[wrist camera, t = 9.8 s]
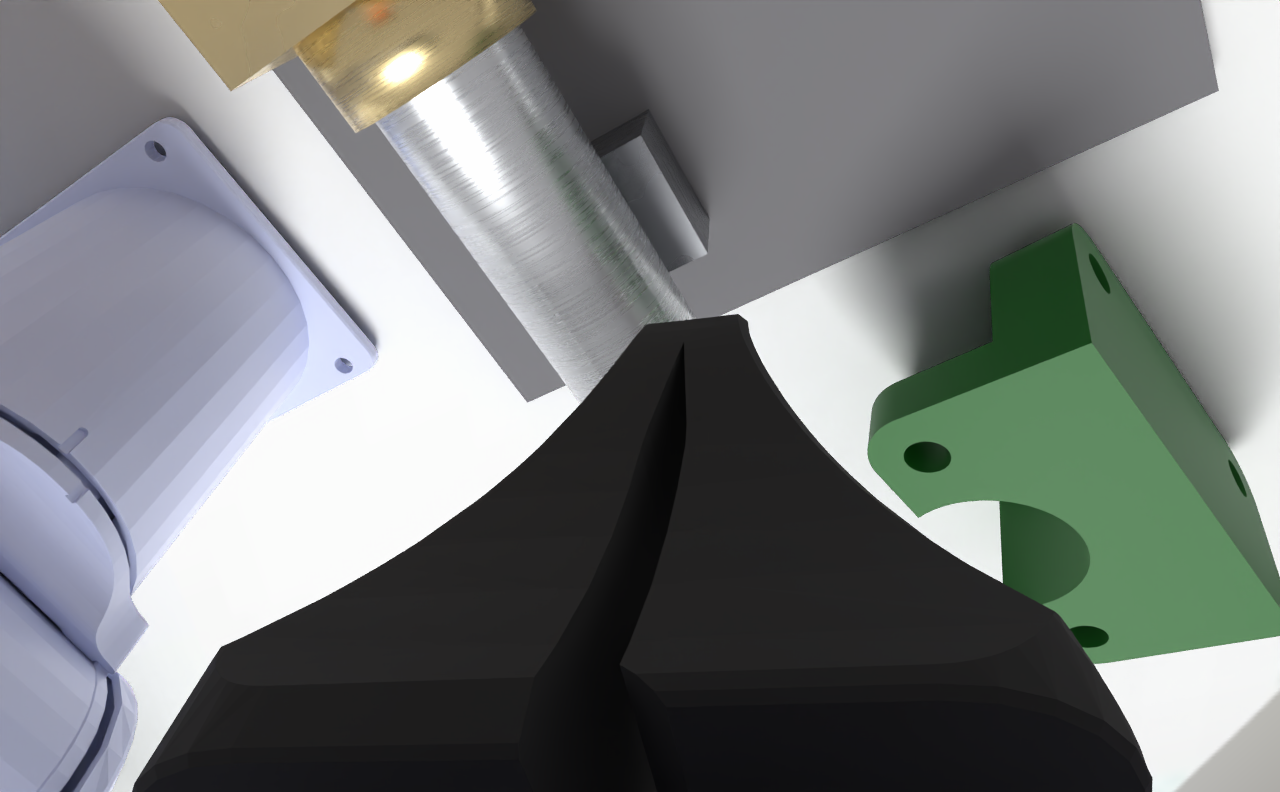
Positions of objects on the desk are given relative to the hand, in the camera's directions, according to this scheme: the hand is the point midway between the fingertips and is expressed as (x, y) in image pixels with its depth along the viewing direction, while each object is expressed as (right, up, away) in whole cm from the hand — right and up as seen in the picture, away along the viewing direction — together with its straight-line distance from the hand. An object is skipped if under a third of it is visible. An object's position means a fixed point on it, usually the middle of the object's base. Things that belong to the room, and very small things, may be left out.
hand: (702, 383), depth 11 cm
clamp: (+10, 0, +12) cm, 16 cm away
